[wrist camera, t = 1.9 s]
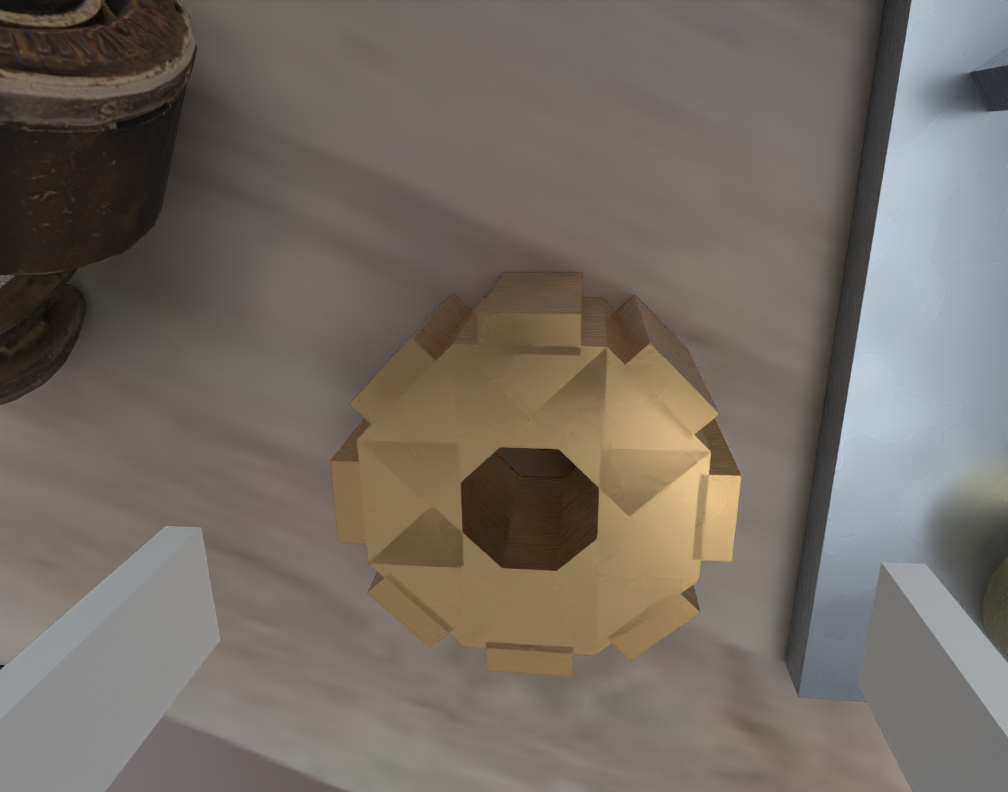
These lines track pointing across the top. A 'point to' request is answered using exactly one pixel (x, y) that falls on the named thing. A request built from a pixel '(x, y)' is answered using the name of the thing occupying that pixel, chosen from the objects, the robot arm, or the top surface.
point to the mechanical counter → (78, 157)
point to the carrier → (917, 348)
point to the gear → (538, 500)
